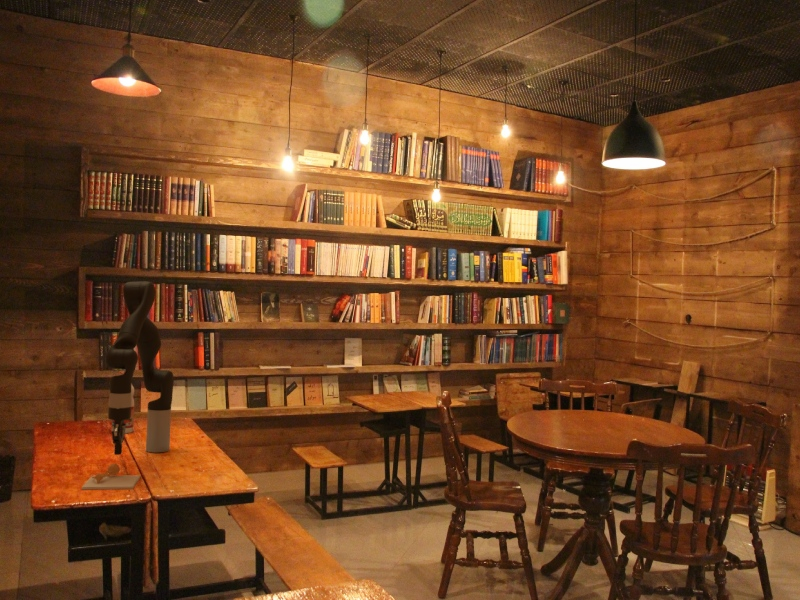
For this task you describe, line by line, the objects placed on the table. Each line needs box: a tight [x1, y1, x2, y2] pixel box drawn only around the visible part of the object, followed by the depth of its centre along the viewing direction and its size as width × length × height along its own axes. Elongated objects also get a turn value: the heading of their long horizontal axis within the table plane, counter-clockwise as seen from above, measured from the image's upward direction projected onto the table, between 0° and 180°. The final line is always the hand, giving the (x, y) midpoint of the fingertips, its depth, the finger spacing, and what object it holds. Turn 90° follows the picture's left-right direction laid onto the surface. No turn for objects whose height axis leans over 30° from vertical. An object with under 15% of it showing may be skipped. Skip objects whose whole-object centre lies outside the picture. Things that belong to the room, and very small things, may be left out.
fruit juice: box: [111, 370, 135, 434], centre depth 330 cm, size 9×9×28 cm
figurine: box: [92, 463, 121, 483], centre depth 245 cm, size 8×6×12 cm
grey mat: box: [80, 474, 141, 491], centre depth 243 cm, size 15×16×1 cm
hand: (117, 454), depth 252 cm, fingers closed
